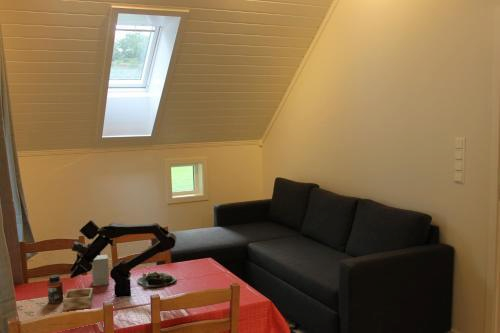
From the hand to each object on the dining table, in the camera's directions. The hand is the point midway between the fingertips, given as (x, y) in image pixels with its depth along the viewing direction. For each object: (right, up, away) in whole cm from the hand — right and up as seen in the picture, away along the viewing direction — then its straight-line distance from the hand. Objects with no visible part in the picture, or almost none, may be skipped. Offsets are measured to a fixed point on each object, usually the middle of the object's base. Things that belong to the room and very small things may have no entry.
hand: (70, 274), depth 202 cm
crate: (+5, -12, -3) cm, 13 cm away
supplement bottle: (-6, -12, -1) cm, 13 cm away
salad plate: (+33, -9, +22) cm, 40 cm away
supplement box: (+6, -9, +21) cm, 24 cm away
